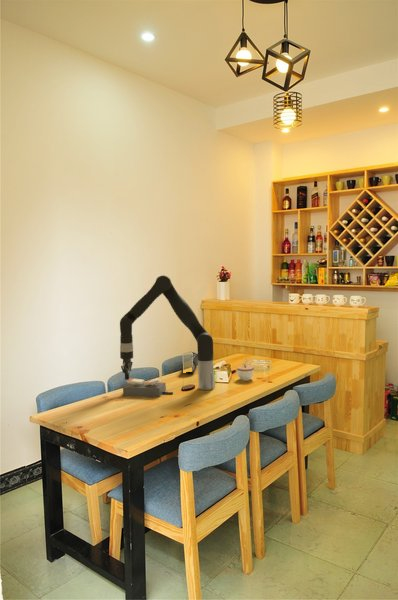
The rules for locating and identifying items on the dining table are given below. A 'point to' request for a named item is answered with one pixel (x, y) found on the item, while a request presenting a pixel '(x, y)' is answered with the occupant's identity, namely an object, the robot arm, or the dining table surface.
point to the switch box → (145, 390)
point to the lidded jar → (245, 372)
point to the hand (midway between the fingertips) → (127, 379)
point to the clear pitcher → (194, 361)
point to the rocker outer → (135, 381)
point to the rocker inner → (152, 381)
